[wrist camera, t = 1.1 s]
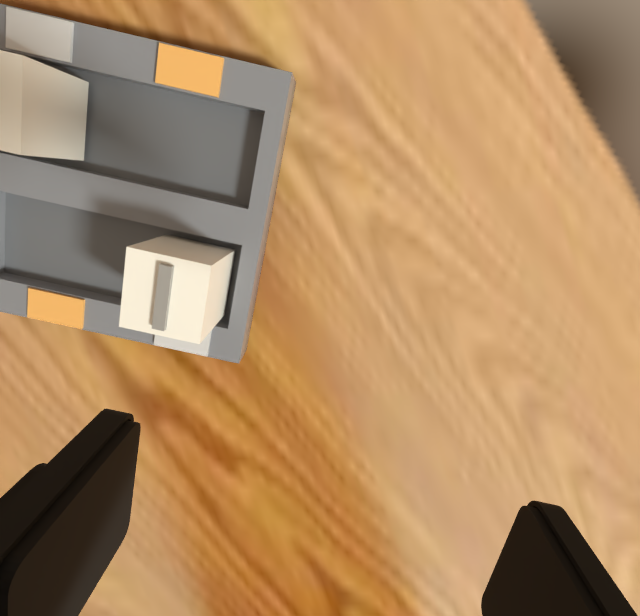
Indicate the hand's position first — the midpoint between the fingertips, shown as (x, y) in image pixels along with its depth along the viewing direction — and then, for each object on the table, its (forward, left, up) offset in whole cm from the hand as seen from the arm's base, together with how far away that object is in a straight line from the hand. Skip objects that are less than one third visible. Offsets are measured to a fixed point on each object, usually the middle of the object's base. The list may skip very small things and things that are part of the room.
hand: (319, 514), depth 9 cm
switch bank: (+3, +13, -18) cm, 22 cm away
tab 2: (0, +8, -17) cm, 19 cm away
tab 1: (+7, +17, -17) cm, 25 cm away
